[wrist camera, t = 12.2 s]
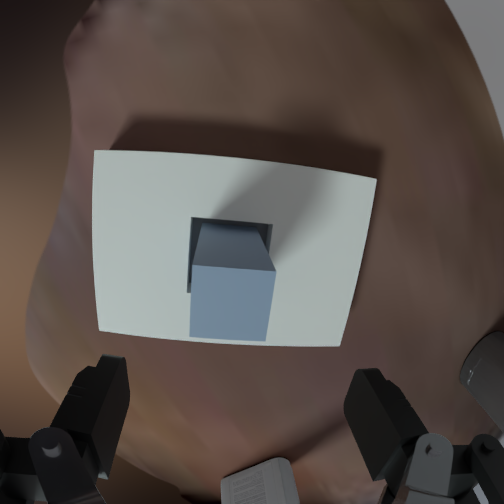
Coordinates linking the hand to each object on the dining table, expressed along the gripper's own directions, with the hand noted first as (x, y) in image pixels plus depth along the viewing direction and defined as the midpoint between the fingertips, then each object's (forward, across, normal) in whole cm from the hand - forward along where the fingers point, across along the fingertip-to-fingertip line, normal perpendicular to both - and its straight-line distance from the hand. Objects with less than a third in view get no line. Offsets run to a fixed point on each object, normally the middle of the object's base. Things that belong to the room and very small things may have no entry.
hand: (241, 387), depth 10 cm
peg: (+15, 0, 0) cm, 15 cm away
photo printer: (+16, -6, +31) cm, 35 cm away
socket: (+16, 0, 0) cm, 16 cm away
